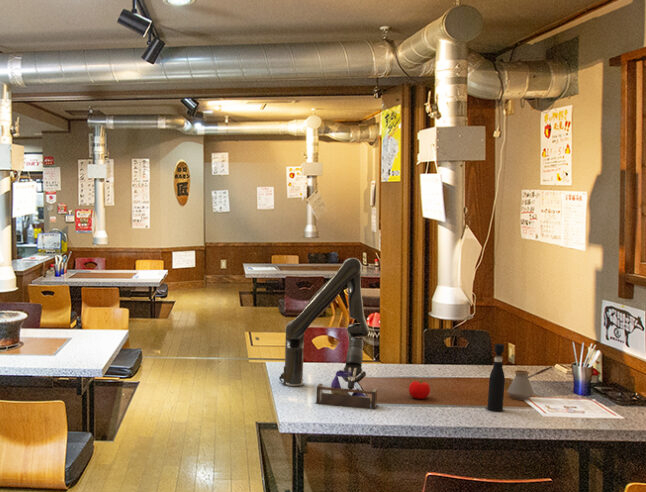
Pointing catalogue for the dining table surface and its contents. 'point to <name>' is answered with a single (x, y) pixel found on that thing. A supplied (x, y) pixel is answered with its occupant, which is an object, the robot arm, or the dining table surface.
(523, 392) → the coffee pot
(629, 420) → the dining table surface
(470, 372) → the dining table surface
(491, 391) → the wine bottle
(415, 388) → the tomato
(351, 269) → the robot arm
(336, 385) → the sandal
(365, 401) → the shoe rack
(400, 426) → the dining table surface
